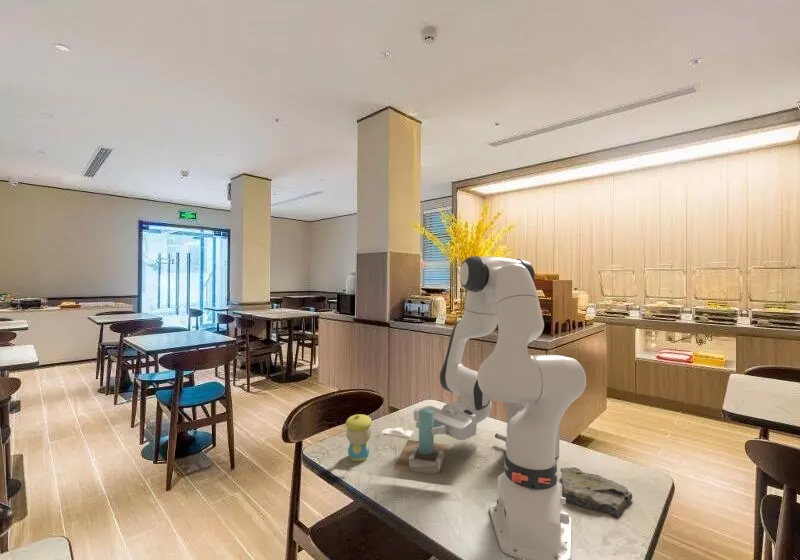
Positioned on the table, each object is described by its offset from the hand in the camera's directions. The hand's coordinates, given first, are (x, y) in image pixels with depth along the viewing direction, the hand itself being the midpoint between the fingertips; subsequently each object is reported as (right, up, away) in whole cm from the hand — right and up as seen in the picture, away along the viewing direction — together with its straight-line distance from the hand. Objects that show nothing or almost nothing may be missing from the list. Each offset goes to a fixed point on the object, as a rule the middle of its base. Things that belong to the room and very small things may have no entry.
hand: (424, 428), depth 111 cm
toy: (-20, -12, +5) cm, 24 cm away
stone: (+45, -14, -12) cm, 48 cm away
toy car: (-8, -13, +23) cm, 27 cm away
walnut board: (0, -12, +6) cm, 14 cm away
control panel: (+32, -13, +11) cm, 36 cm away
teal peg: (+1, -7, +1) cm, 7 cm away
